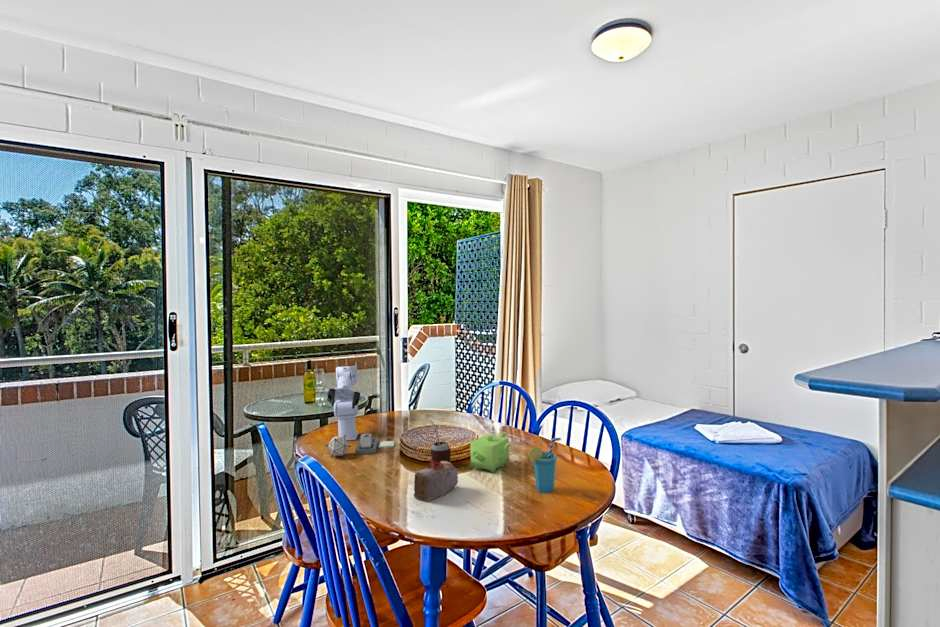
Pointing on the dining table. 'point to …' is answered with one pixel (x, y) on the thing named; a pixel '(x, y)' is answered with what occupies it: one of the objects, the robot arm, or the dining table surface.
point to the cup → (544, 467)
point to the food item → (435, 480)
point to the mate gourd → (440, 450)
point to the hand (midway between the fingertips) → (343, 405)
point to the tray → (386, 444)
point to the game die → (338, 446)
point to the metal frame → (369, 450)
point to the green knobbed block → (490, 452)
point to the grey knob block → (366, 441)
